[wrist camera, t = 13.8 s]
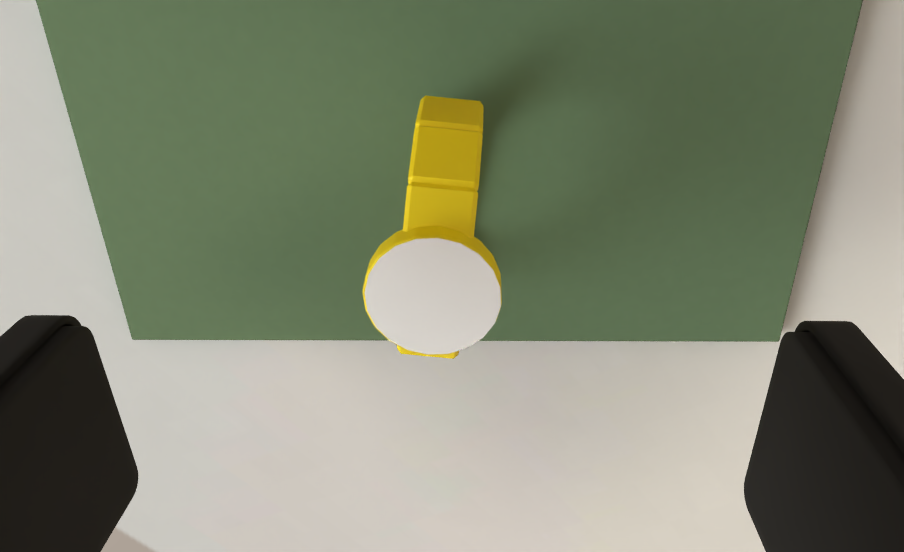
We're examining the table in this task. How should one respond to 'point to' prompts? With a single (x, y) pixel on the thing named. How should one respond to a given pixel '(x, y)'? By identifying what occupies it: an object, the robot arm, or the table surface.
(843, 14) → the mat
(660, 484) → the table surface
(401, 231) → the watch
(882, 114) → the table surface
